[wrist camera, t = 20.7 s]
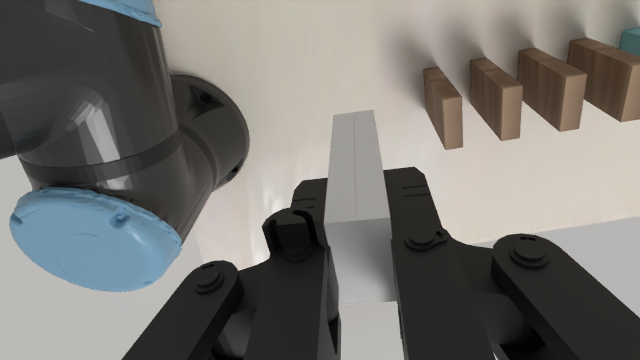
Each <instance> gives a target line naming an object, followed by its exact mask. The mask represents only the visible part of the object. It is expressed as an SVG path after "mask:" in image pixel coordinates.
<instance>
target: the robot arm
mask: <svg viewBox="0 0 640 360" xmlns="http://www.w3.org/2000/svg"><path fill="white" fill-rule="evenodd" d="M161 27H162V25H161V22H160V20H159V19H158V18H157V16H156V13H155V9H154V5H153V1H152V0H0V159H3V158H7V157H10V156H14V155H17V156H18V158H19V160H20V162H21V164H22V166H23V168H24V170H25V172H26V174H27V177H28V178H29V181H30V183H31V185H32V188H33V189H32V192H28V193H26V194H25V195H24V196H22V197H21V198H20V199H19V200H18V202H17V206H16V207H15V209H14V213H13V214H12V215H11V217H10V224H9V225H10V230H11V233H12V236H13V238H14V240H15V242H16V243H17V245H18V246H19V248H20V249H21V250H22V251H23V252H24V253H25V254H26V255H27V256H28V257H29V258H30V259H31V260H32V261H33V262H35V263H36V264H37V265H39V266H40V267H42V268H43V269H44V270H46V271H48V272H49V273H51V274H53V275H55V276H57V277H59V278H62V279H64V280H66V281H68V282H70V283H73V284H76V285H79V286H82V287H85V288H90V289H94V290H100V291H109V292H110V291H111V292H126V291H133V290H137V289H141V288H144V287H146V286H149V285H151V284H152V283H154V282H155V281H156V280H158V279H159V278H160V277H161V276H162V275H163V274H164V273H165V271H166V270H167V269H168V267H169V266H170V265H171V263H172V262H173V261H174V259H175V258H176V257H178V255H179V254H180V252H181V249H182V248H181V247H182V245H183V243H184V241H185V239H186V237H187V236H188V234H189V232H190V230H191V228H192V227H193V225H194V223H195V221H196V220H197V218H198V216H199V214H200V212H201V211H202V209H203V207H204V205H205V203H206V201H207V200H208V198H209V196H210V194H211V193H212V192H214V191H215V190H217V189H218V188H220V187H222V186H223V185H225V184H226V183H228V182H229V181H231V180H232V179H233V178H234V177H235V176H236V175H237V174H238V172H239V171H240V169H241V168H242V166H243V164H244V162H245V160H246V158H247V155H248V151H249V142H250V140H249V131H248V127H247V124H246V121H245V119H244V117H243V115H242V113H241V111H240V110H239V108H238V107H237V105H236V104H235V103H234V102H233V100H232V99H231V98H230V97H229V96H228V95H227V94H225V93H224V92H223V91H222V90H220V89H219V88H217V87H216V86H214V85H213V84H211V83H209V82H207V81H204V80H202V79H199V78H196V77H191V76H186V75H169V70H168V65H167V60H166V56H165V51H164V46H163V41H162V36H161V31H160V28H161ZM262 229H263V232H264V235H265V239H266V242H267V245H268V248H269V251H270V257H269V259H268V260H266V261H264V262H263V263H260V264H258V265H255V266H252V267H249V268H246V269H243V270H240V271H238V270H237V268H236V267H235V266H234V265H233V264H232V263H231V262H227V261H224V260H222V261H212V262H209V263H206V264H203V265H201V266H200V267H198V268H196V269H195V270H193V271H192V272H191V273H190V274H189V275H188V276H187V277H186V278H185V279H184V281H183V282H182V283H181V284H180V286H179V287H178V288H177V290H176V291H175V292H174V293H173V294H172V296H171V297H170V298H169V300H168V301H167V302H166V304H165V305H164V306H163V307H162V309H161V310H160V311H159V312H158V314H157V315H156V316H155V317H154V319H153V320H152V321H151V323H150V324H149V325H148V326H147V328H146V329H145V330H144V332H143V333H142V334H141V335H140V337H139V338H138V339H137V340H136V342H135V343H134V344H133V346H132V347H131V348H130V349H129V351H128V352H127V353H126V355H125V356H124V357H123V358H122V360H340V358H341V357H340V356H341V320H340V315H339V311H338V300H339V299H340V304H341V305H342V304H358V303H372V302H373V303H374V302H388V301H397V304H398V314H399V324H400V335H401V339H402V345H403V352H404V360H496V359H495V356H494V354H495V355H496V357H497V358H498V360H640V318H639V317H638V316H637V315H636V314H635V313H634V312H632V311H631V310H630V309H629V308H628V307H627V306H626V305H625V304H623V303H622V302H621V301H620V300H619V299H618V298H616V297H615V296H614V295H613V294H612V293H611V292H610V291H609V290H608V289H606V288H605V287H604V286H603V285H602V284H601V283H600V282H598V281H597V280H596V279H595V278H594V277H593V276H592V275H590V274H589V273H588V272H587V271H586V270H585V269H584V268H583V267H581V266H580V265H579V264H578V263H577V262H575V260H574V259H572V258H571V257H570V256H569V255H568V254H567V253H566V252H564V251H563V250H562V249H561V248H560V247H559V246H557V245H556V244H554V243H552V242H551V241H549V240H547V239H545V238H542V237H539V236H536V235H530V234H512V235H507V236H505V237H503V238H500V239H499V240H498V241H497V242H496V243H495V244H494V246H493V249H492V248H485V247H477V246H472V245H467V244H464V243H461V242H459V241H456V240H455V239H453V238H452V237H451V236H450V234H449V233H448V231H447V230H445V229H444V228H443V227H442V225H441V222H440V219H439V216H438V213H437V210H436V207H435V205H434V202H433V199H432V196H431V193H430V190H429V187H428V184H427V181H426V178H425V175H424V174H423V173H422V172H420V171H419V170H418V169H417V168H415V167H408V168H399V169H390V170H383V168H382V161H381V155H380V148H379V142H378V136H377V129H376V123H375V117H374V110H369V111H362V112H354V113H347V114H340V115H334V117H333V128H332V139H331V150H330V161H329V172H328V178H321V179H312V180H304V181H302V182H301V183H300V184H299V185H298V187H297V188H296V189H295V190H294V194H293V198H292V203H291V207H290V208H286V209H282V210H280V211H278V212H276V213H274V214H272V215H271V216H270V217H269V218H267V219H266V220H265V222H264V224H263V225H262ZM492 350H493V351H492ZM493 352H494V354H493Z"/></svg>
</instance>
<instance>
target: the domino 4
mask: <svg viewBox="0 0 640 360" xmlns="http://www.w3.org/2000/svg"><path fill="white" fill-rule="evenodd" d="M567 64H568V65H570V66H572V67H574V68H576V69H578V70H580V71H582V72H584V73H586V74H587V79H586V86H585V92H584V100H586V101H588V102H589V103H591V104H592V105H594V106H596V107H597V108H599V109H600V110H602V111H604V112H605V113H607V114H608V115H610V116H612V117H613V118H615V119H616V120H618V121H620V122H625V121H632V120H638V119H640V56H637V55H634V54H631V53H628V52H626V51H623V50H620V49H617V48H614V47H612V46H609V45H606V44H603V43H600V42H598V41H595V40H592V39H589V38H582V39H577V40H572V41H570V45H569V53H568V61H567Z"/></svg>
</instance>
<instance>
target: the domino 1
mask: <svg viewBox="0 0 640 360" xmlns="http://www.w3.org/2000/svg"><path fill="white" fill-rule="evenodd" d="M423 72H424V86H425V99H426V112H427V114H428V116H429V118H430V120H431V122H432V124H433V126H434V128H435V130H436V132H437V134H438V136H439V138H440V140H441V142H442V144H443V146H444V148H445V150H448V149H455V148H461V147H463V125H462V96H461V95H460V94H459V92H458V91H457V90H456V89H455V87H454V86H453V85H452V84H451V82H450V81H449V80H448V78H447V77H446V76H445V75H444V73H443V72H442V71H441V70H440V68H439V67H433V68H428V69H423Z"/></svg>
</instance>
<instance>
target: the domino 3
mask: <svg viewBox="0 0 640 360" xmlns="http://www.w3.org/2000/svg"><path fill="white" fill-rule="evenodd" d="M586 79H587V74H586V73H584V72H582V71H580V70H578V69H576V68H574V67H572V66H570V65H568V64H566V63H564V62H562V61H561V60H559V59H557V58H555V57H553V56H551V55H549V54H547V53H545V52H543V51H541V50H539V49H537V48H531V49H526V50H520V51H519V61H518V79H517V81H518V82H519V83H520V84H521V85H523V91H522V100H523V101H524V102H525V103H526V104H527V105H528V106H530V107H531V108H532V109H533V110H534V111H536V112H537V113H538V114H539V115H540V116H541V117H543V118H544V119H545V120H546V121H547V122H549V123H550V124H551V125H552V126H553V127H555V128H556V129H557V130H558V131H559V132H562V131H568V130H575V129H579V125H580V119H581V112H582V105H583V99H584V92H585V86H586Z"/></svg>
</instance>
